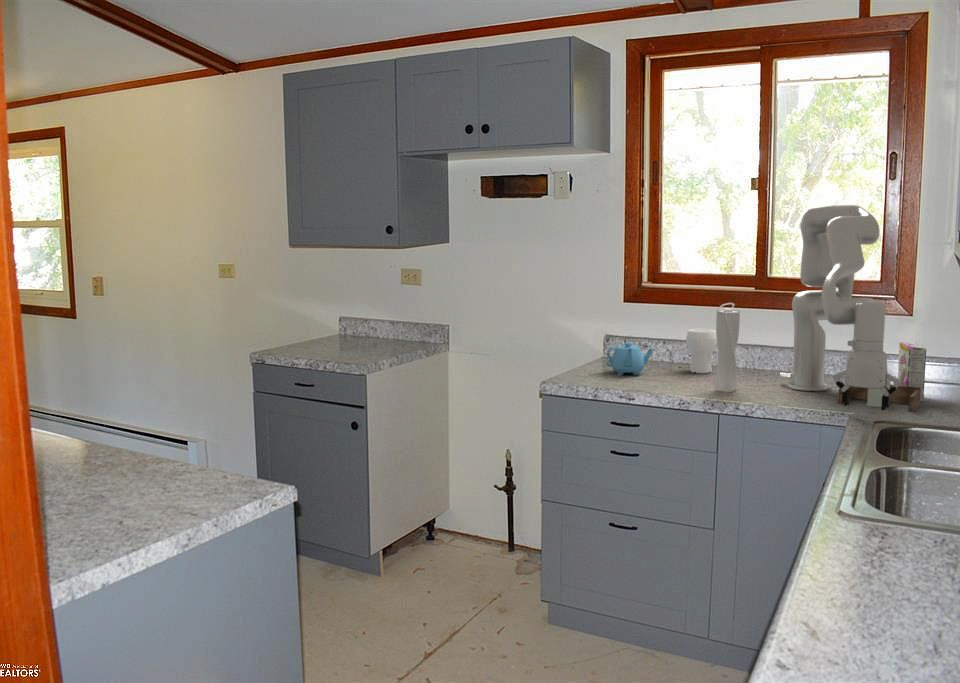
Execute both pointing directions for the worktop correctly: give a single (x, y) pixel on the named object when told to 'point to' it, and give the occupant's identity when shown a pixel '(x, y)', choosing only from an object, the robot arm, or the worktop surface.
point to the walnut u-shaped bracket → (898, 396)
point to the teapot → (628, 359)
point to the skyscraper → (727, 348)
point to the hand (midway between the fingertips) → (864, 407)
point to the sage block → (876, 396)
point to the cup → (701, 349)
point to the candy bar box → (912, 366)
